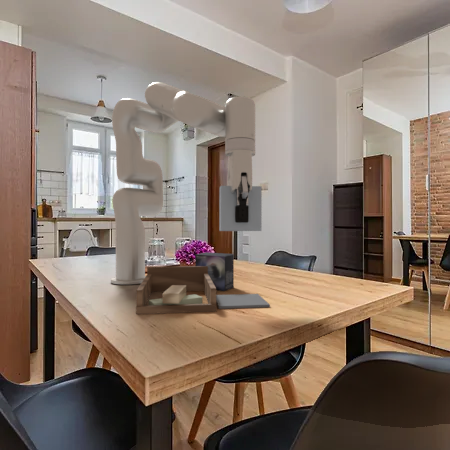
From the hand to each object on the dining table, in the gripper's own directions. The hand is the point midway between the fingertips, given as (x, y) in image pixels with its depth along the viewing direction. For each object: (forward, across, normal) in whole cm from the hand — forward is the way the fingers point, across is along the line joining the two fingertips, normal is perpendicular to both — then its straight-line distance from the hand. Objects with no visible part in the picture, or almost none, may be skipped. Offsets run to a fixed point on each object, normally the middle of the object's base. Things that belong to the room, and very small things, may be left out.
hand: (240, 221), depth 81 cm
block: (+2, 0, 0) cm, 2 cm away
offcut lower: (+21, +3, -16) cm, 26 cm away
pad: (+20, 0, 0) cm, 20 cm away
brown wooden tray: (+20, -4, -16) cm, 26 cm away
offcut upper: (+18, +3, -16) cm, 24 cm away
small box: (+20, -19, -4) cm, 28 cm away
